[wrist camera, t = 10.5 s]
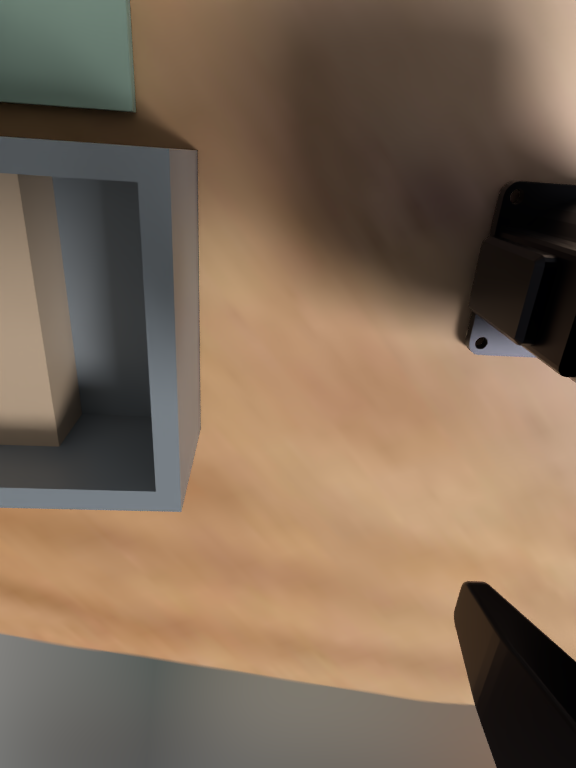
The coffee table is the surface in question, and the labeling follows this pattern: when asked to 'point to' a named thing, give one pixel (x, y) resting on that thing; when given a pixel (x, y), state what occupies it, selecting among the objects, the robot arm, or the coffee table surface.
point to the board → (67, 54)
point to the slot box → (98, 325)
